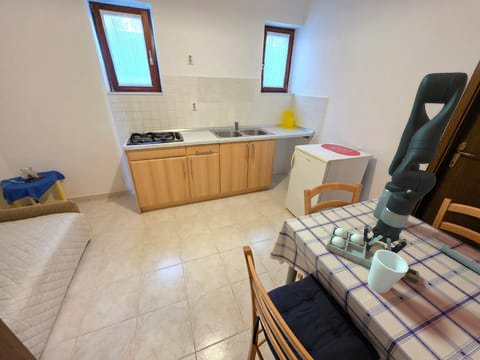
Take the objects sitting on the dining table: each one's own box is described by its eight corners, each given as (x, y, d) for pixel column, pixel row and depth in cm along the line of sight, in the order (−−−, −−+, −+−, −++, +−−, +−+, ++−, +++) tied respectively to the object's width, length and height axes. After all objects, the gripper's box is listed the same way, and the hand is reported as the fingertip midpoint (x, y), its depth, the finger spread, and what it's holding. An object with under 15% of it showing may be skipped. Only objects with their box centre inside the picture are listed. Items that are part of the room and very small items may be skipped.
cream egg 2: (331, 240, 90) (334, 232, 88) (343, 245, 88) (346, 237, 86) (329, 247, 87) (332, 239, 84) (341, 252, 84) (344, 244, 82)
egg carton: (332, 230, 97) (333, 226, 96) (382, 250, 87) (384, 245, 86) (325, 249, 87) (327, 244, 85) (381, 273, 77) (384, 268, 75)
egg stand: (401, 268, 79) (403, 265, 78) (416, 275, 76) (418, 271, 76) (402, 277, 75) (404, 274, 74) (417, 284, 73) (420, 281, 72)
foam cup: (378, 300, 67) (393, 275, 61) (357, 276, 75) (368, 252, 69) (399, 293, 70) (415, 268, 64) (376, 271, 77) (389, 247, 71)
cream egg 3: (349, 238, 92) (353, 230, 90) (361, 242, 90) (365, 234, 88) (348, 244, 88) (351, 236, 86) (360, 249, 86) (364, 241, 84)
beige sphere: (368, 246, 82) (373, 237, 79) (383, 252, 79) (387, 243, 77) (368, 254, 78) (372, 245, 76) (382, 260, 76) (388, 251, 73)
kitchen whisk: (491, 285, 74) (502, 274, 71) (395, 229, 100) (400, 219, 97) (497, 279, 76) (508, 268, 73) (401, 226, 103) (406, 216, 100)
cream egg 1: (334, 232, 95) (337, 224, 93) (345, 236, 93) (348, 228, 91) (332, 238, 92) (335, 230, 89) (344, 243, 89) (347, 234, 87)
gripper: (416, 222, 70) (396, 255, 78) (370, 207, 77) (356, 240, 85) (418, 234, 65) (397, 269, 72) (368, 217, 71) (354, 251, 79)
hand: (375, 253), depth 79 cm, fingers closed on beige sphere, 5 cm apart
